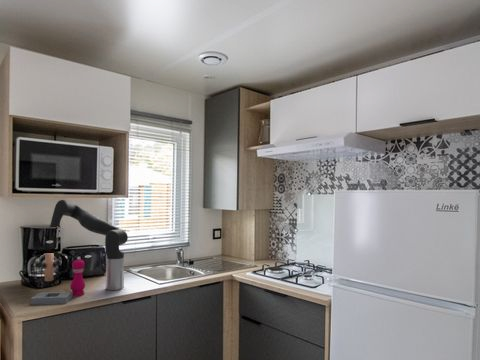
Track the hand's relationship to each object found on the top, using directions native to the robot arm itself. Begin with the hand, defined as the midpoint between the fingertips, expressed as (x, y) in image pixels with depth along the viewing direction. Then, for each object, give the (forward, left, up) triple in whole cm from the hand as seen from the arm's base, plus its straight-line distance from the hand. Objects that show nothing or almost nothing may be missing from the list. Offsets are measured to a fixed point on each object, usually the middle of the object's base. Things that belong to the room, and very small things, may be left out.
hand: (49, 265), depth 178 cm
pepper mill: (-14, -2, -16) cm, 21 cm away
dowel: (+1, -2, -8) cm, 8 cm away
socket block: (-5, +8, -16) cm, 18 cm away
